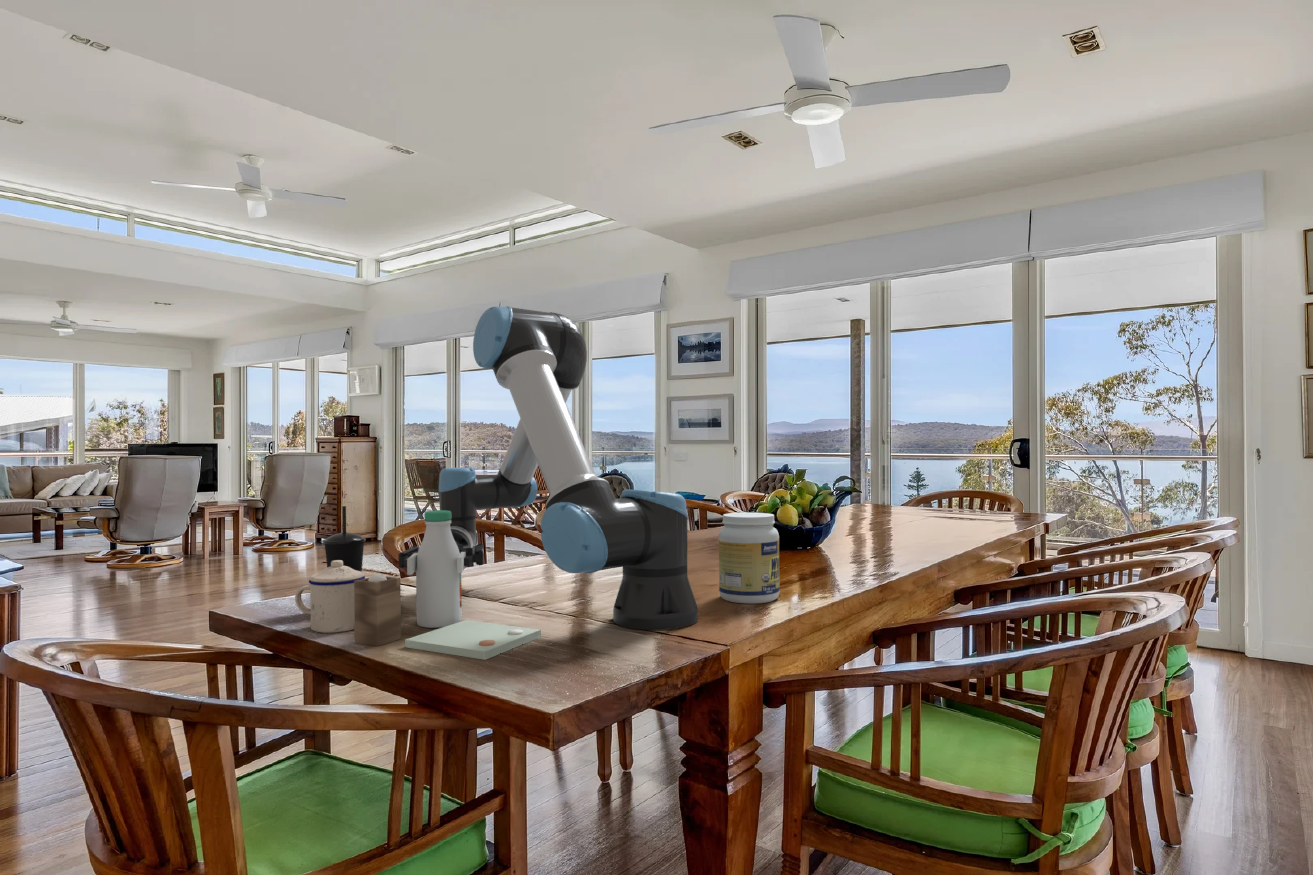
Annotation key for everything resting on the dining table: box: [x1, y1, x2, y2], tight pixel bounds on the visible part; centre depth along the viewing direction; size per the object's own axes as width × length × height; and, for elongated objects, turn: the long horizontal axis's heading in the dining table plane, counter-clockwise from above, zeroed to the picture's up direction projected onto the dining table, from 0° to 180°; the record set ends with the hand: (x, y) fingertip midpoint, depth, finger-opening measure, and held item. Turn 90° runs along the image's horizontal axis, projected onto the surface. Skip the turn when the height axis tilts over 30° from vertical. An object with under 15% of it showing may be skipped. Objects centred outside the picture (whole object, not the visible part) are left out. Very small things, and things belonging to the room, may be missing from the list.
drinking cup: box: [322, 505, 366, 572], centre depth 146 cm, size 8×8×20 cm
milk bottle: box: [415, 509, 463, 629], centre depth 133 cm, size 8×8×20 cm
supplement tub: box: [718, 512, 780, 604], centre depth 151 cm, size 12×12×17 cm
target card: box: [404, 619, 542, 661], centre depth 121 cm, size 16×14×2 cm
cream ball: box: [368, 572, 387, 582], centre depth 122 cm, size 3×3×3 cm
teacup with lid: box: [294, 560, 366, 634], centre depth 132 cm, size 12×9×12 cm
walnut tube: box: [354, 575, 402, 647], centre depth 122 cm, size 5×5×10 cm
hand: (434, 566), depth 129 cm, fingers closed on milk bottle, 8 cm apart
